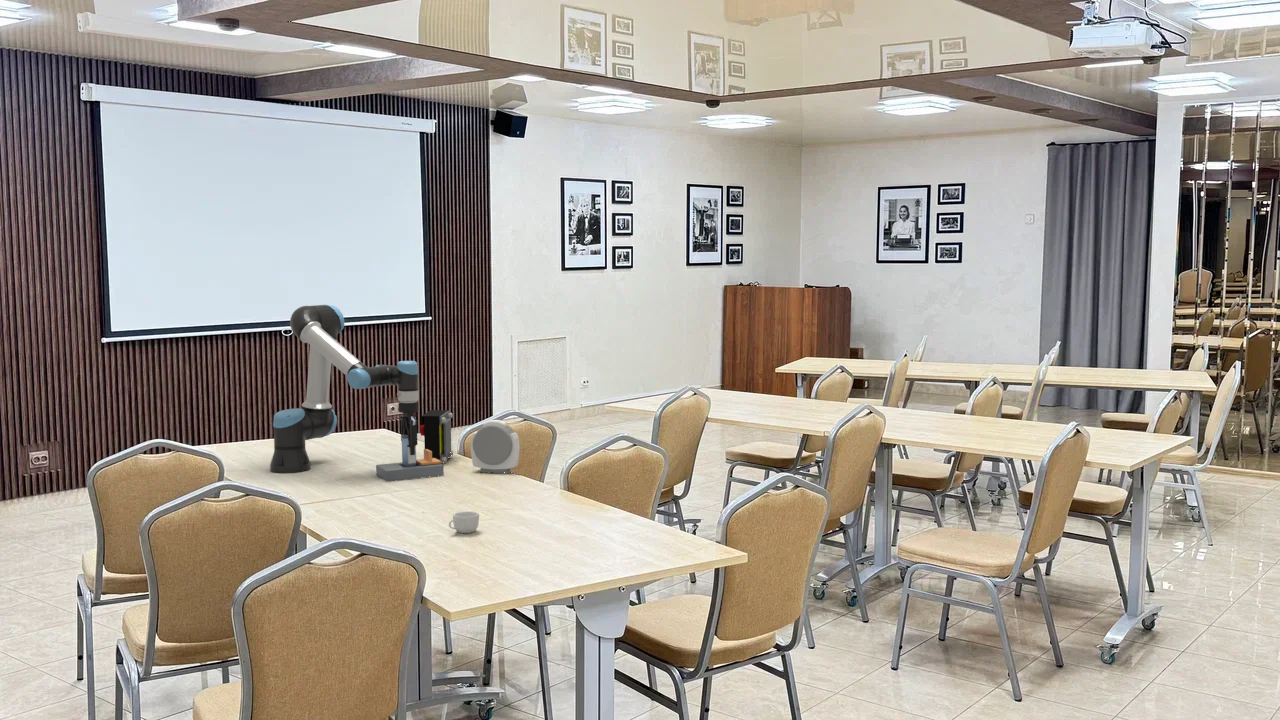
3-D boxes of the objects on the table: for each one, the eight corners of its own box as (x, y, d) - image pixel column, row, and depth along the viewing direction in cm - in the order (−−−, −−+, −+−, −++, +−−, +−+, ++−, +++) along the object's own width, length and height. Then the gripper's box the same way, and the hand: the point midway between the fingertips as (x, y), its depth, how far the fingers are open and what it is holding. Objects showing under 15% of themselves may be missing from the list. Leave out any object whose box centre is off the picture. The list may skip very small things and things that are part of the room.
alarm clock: (520, 470, 410) (520, 419, 408) (514, 474, 402) (514, 422, 400) (477, 469, 413) (476, 418, 411) (469, 473, 405) (469, 421, 403)
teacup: (469, 527, 321) (469, 510, 320) (484, 531, 315) (484, 514, 315) (441, 533, 314) (441, 515, 313) (456, 537, 308) (456, 519, 308)
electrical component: (445, 465, 421) (444, 416, 419) (420, 465, 421) (419, 416, 419) (454, 457, 438) (453, 410, 437) (429, 457, 439) (429, 410, 437)
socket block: (376, 475, 401) (375, 464, 401) (431, 469, 412) (431, 459, 412) (386, 481, 389) (386, 470, 389) (443, 475, 400) (443, 465, 400)
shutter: (414, 461, 405) (414, 449, 405) (434, 459, 409) (434, 447, 409) (421, 465, 398) (421, 452, 398) (441, 463, 402) (441, 450, 402)
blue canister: (401, 468, 401) (399, 434, 400) (414, 466, 404) (413, 433, 402) (404, 470, 397) (403, 436, 395) (418, 468, 399) (417, 435, 398)
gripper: (391, 399, 404) (392, 459, 406) (406, 405, 388) (407, 466, 390) (410, 398, 408) (411, 457, 410) (425, 403, 392) (426, 464, 394)
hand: (409, 461), depth 400 cm, fingers closed on blue canister, 5 cm apart
